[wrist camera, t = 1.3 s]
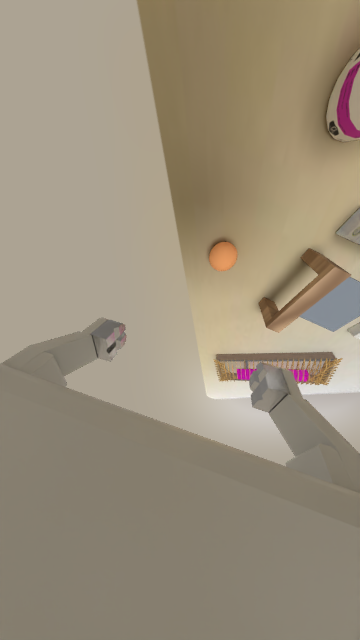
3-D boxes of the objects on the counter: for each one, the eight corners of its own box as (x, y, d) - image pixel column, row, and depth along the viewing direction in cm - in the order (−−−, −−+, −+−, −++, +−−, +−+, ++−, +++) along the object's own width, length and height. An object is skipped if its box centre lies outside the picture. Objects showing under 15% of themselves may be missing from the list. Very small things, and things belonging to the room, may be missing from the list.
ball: (217, 234, 31) (217, 241, 27) (241, 245, 32) (244, 254, 28) (205, 258, 35) (203, 268, 31) (227, 268, 36) (228, 279, 32)
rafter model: (219, 373, 65) (219, 387, 61) (213, 351, 57) (213, 366, 52) (322, 375, 53) (332, 393, 49) (335, 348, 45) (348, 367, 40)
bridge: (258, 303, 40) (266, 327, 33) (309, 248, 30) (335, 266, 23) (268, 307, 40) (278, 332, 33) (322, 254, 30) (351, 274, 23)
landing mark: (342, 273, 32) (343, 274, 32) (389, 296, 33) (390, 297, 33) (294, 313, 40) (294, 314, 40) (333, 331, 41) (333, 331, 41)
